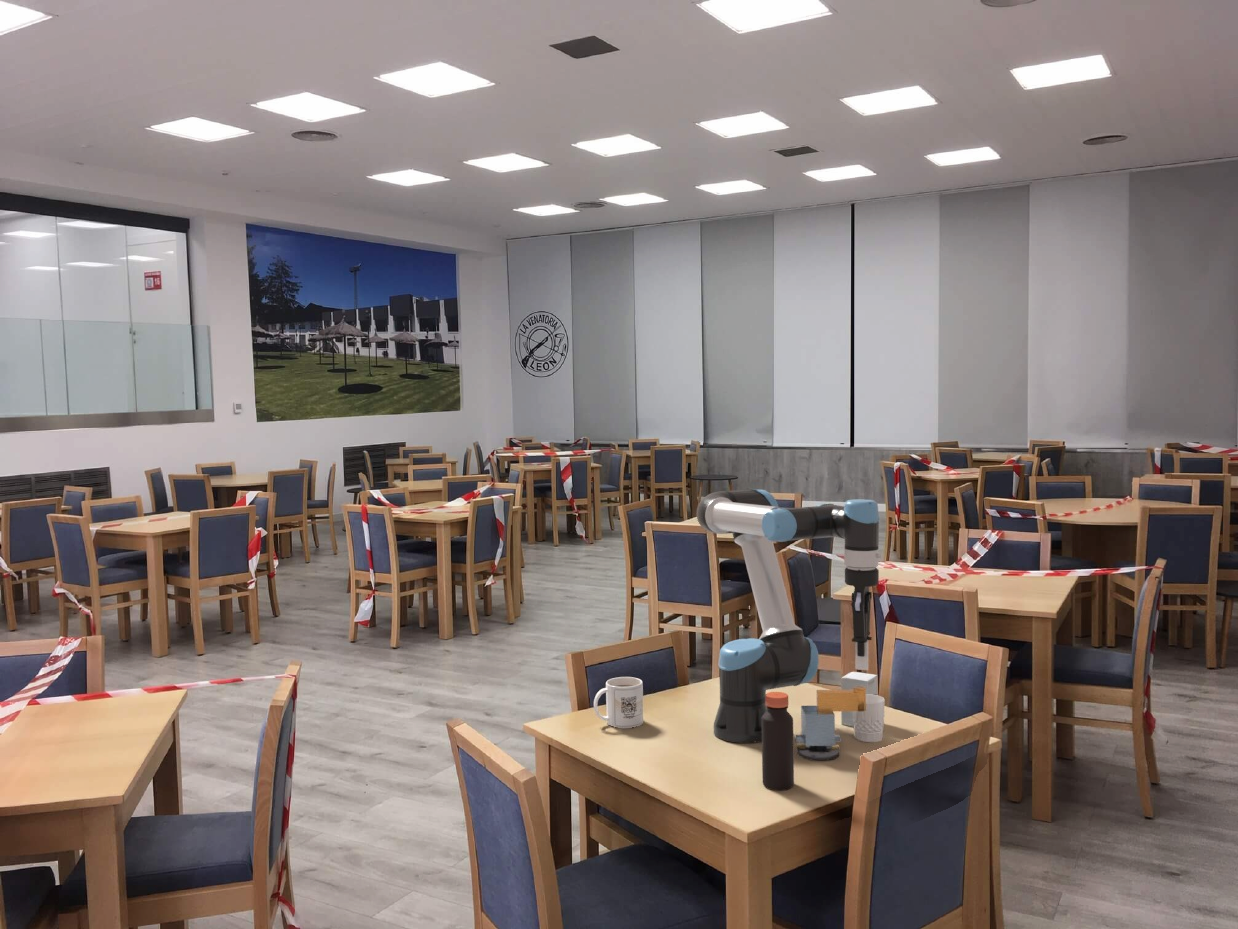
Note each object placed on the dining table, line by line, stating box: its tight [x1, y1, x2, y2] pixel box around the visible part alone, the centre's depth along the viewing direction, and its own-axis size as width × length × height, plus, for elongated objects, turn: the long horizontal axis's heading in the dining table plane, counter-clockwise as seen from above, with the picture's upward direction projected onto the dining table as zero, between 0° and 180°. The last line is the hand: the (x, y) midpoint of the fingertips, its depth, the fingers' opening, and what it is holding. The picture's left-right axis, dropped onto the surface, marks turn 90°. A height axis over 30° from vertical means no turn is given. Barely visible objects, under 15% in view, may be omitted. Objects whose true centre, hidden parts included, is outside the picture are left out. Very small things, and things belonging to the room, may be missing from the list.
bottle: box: [761, 691, 795, 791], centre depth 203 cm, size 7×7×20 cm
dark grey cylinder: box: [796, 742, 841, 762], centre depth 222 cm, size 10×10×9 cm
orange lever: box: [795, 686, 866, 746], centre depth 221 cm, size 7×17×13 cm, turn 87°
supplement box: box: [840, 671, 879, 727], centre depth 242 cm, size 7×7×13 cm
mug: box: [593, 676, 644, 729], centre depth 247 cm, size 10×12×11 cm
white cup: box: [853, 694, 886, 743], centre depth 231 cm, size 8×8×10 cm
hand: (861, 669), depth 213 cm, fingers closed
